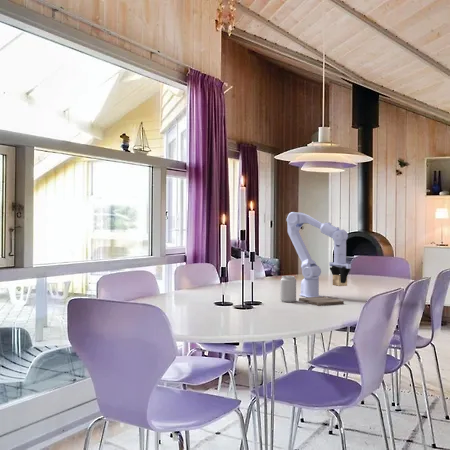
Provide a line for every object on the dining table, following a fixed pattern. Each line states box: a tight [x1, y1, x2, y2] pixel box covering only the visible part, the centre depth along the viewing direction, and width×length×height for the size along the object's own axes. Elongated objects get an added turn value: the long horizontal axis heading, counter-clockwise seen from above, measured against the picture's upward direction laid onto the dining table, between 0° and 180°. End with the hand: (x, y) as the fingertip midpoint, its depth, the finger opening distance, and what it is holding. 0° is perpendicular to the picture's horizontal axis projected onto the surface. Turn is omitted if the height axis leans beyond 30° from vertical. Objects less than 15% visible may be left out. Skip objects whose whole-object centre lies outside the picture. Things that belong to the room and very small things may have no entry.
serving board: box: [298, 296, 345, 307], centre depth 234 cm, size 16×14×1 cm
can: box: [279, 275, 297, 303], centre depth 236 cm, size 8×8×12 cm
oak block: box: [332, 274, 348, 287], centre depth 243 cm, size 5×5×5 cm
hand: (339, 282), depth 243 cm, fingers closed on oak block, 5 cm apart
